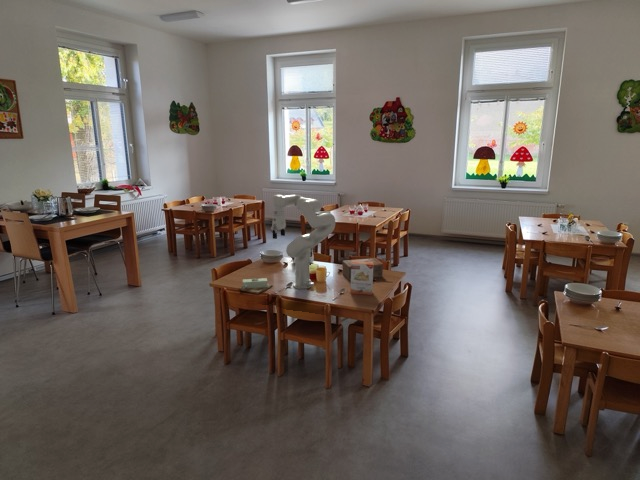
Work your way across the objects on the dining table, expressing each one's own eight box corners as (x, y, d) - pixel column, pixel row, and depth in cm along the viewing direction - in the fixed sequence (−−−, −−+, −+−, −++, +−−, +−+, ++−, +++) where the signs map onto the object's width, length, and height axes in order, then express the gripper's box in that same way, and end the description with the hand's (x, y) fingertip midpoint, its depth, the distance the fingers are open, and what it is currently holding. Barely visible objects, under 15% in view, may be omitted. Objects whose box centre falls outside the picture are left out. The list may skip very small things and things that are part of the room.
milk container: (296, 259, 346) (296, 237, 342) (316, 261, 341) (316, 239, 337) (288, 265, 331) (288, 243, 326) (309, 267, 325) (309, 245, 321)
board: (272, 286, 286) (272, 278, 285) (258, 294, 272) (257, 286, 271) (253, 282, 294) (253, 274, 292) (238, 289, 280) (238, 281, 279)
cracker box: (350, 294, 273) (350, 263, 268) (351, 290, 279) (351, 260, 274) (372, 295, 271) (373, 264, 266) (372, 292, 277) (373, 261, 272)
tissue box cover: (375, 270, 320) (375, 258, 317) (382, 277, 306) (382, 263, 303) (342, 273, 313) (342, 260, 311) (348, 280, 300) (348, 266, 297)
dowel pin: (247, 288, 279) (247, 284, 278) (246, 289, 278) (246, 284, 277) (246, 288, 279) (246, 283, 278) (245, 288, 278) (244, 284, 277)
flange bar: (266, 284, 287) (266, 278, 286) (267, 287, 281) (267, 280, 280) (242, 285, 284) (242, 279, 283) (243, 288, 279) (242, 282, 278)
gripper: (275, 215, 281) (276, 240, 285) (289, 211, 295) (290, 235, 300) (266, 214, 284) (267, 239, 289) (280, 210, 299) (281, 233, 303)
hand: (278, 237), depth 294 cm, fingers open, 9 cm apart
